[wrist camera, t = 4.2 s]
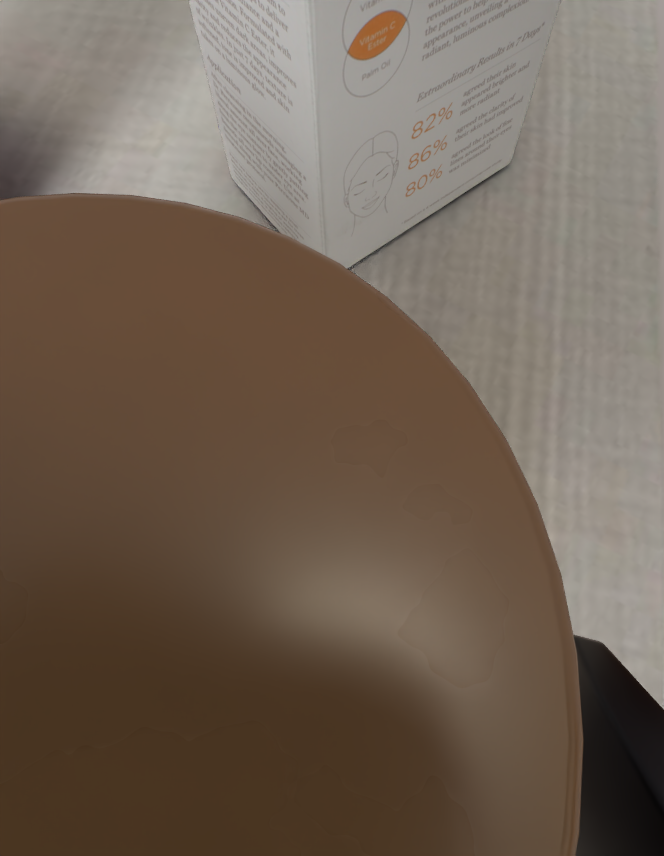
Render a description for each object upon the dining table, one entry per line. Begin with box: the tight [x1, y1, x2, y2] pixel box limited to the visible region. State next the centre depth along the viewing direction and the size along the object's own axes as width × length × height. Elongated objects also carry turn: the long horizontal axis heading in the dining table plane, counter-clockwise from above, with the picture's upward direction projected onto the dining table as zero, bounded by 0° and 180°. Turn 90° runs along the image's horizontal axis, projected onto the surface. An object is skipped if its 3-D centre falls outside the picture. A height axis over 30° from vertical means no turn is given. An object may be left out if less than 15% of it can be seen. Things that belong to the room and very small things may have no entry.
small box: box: [189, 0, 561, 268], centre depth 16 cm, size 8×6×10 cm
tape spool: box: [0, 193, 584, 856], centre depth 9 cm, size 6×6×14 cm
